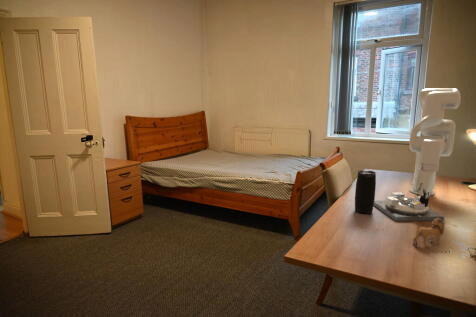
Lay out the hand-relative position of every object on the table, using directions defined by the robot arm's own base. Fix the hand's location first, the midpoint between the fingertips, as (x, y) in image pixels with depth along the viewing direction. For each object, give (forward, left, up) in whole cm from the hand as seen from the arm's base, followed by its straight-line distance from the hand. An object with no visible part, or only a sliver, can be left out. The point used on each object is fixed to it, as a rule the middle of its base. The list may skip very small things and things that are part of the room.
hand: (423, 205), depth 140 cm
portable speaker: (-6, -25, -5) cm, 26 cm away
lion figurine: (+26, -15, -5) cm, 31 cm away
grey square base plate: (-5, -5, -5) cm, 9 cm away
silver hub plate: (-5, -5, -3) cm, 8 cm away
